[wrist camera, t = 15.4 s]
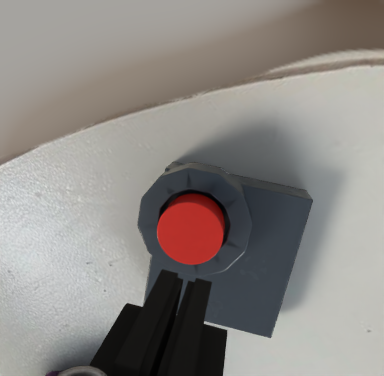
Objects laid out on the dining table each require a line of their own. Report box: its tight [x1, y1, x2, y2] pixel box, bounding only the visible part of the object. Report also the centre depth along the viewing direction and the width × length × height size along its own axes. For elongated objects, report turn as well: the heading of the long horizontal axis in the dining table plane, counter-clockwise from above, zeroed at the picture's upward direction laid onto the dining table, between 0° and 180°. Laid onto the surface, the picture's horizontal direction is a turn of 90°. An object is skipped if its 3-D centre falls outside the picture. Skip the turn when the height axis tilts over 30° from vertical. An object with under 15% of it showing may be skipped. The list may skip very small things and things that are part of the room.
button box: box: [138, 162, 313, 338], centre depth 21 cm, size 11×10×4 cm
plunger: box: [157, 193, 225, 265], centre depth 19 cm, size 4×4×2 cm
